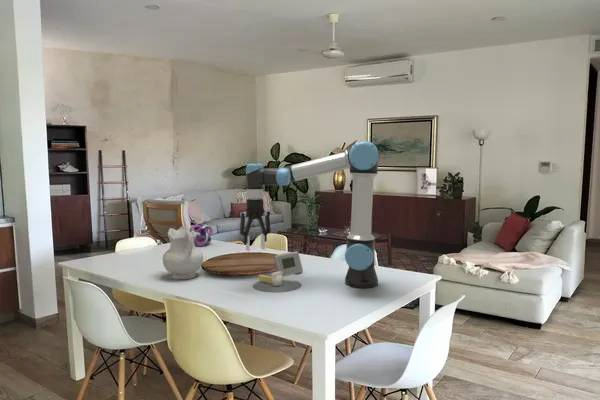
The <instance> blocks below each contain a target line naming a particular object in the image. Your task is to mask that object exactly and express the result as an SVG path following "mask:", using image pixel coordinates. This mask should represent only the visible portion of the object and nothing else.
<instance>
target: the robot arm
mask: <svg viewBox="0 0 600 400" xmlns="http://www.w3.org/2000/svg"><path fill="white" fill-rule="evenodd" d="M379 158H380V153H379V149H378V147H377V146H376V145H375V143H373V142H371V141H368V140H361V141H358V142H355V144H354V145H352V146H351V147H349V148H346V149H345V151H344V152H343V151H342V152H340V153H335V154H332V155H328V156H323V157H319V158H316V159H311V160H307V161H304V162H299V163H296V164H291V165H287V166H283V167H273V168H272V167H271V168H269V167H268V168H265V167H264V164H262V163H248V164H246V168H245V185H246V186H245V187H246V189H245V190H246V194H245V195H246V198H247V199H246V210H245V211H243V212H240V213H239V216H240V223H239V234H240V235H241V236H243V243H244V244H245V250H246V251H248V252H251V251H250V250H251V249H250V244H251V243H250V235H249V232H250V230H251V227H252V224H253V221H254V220H257V221H258V223H259V226H260V229H261V232H262V234H260V237H261V238H260V243H261V244H260V247H261V248H260V249H261V250H266V242H267V241H268V240H267V238H268V237H267V236H268V234H271V219H270V215H271V211H269V210H265V209H264V186H280V187H282V186H289V184H291V183H293V182H297V181H301V180H305V179H310V178H314V177H317V176H321V175H326V174H331V173H333V172H339V171H342V170H347V169H349V174H350V175H351V176H352V190H351V191H352V195H351V216H350V217H351V218H350V233H349V234H348V235H347V236H346V251H345V253H344V259H345V262H346V264H347V265H348V269H347V271H346V274H345V277H344V284H345V285H346V286H349V287H351V288H358V289H367V288H370V289H371V288H375V287H378V285H379V278H378V275H377V274H378V273H377V272H376V268H375V259H376V258H375V254H376V252H375V249H376V248H375V246H376V245H375V244H376V240H375V238H376V237H375V236H374V235H373V234H372V218H373V217H372V216H373V197H374V195H373V194H374V193H373V192H374V179H375V177H377V176H378V167H379ZM263 215H264V219H263V217H262V216H263ZM246 216H247V217H248V218H247V221H246ZM263 220H265V222H264V221H263ZM245 222H246V225H245ZM264 223H265V224H264Z"/></svg>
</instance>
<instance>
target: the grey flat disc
mask: <svg viewBox="0 0 600 400" xmlns="http://www.w3.org/2000/svg"><path fill="white" fill-rule="evenodd" d="M301 287H302V283H301V282H299V281H297V280H293V279H288V278H282V285H281V286H273V285H272V284H271V283H267V282H263V281H259V280H258V281H256V282H254V283H253V284H252V288H253V289H254V290H257V291H259V292H264V293H271V294H273V293H275V294H276V293H288V292H293V291H296V290H297V291H298V290H299V289H301Z"/></svg>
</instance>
